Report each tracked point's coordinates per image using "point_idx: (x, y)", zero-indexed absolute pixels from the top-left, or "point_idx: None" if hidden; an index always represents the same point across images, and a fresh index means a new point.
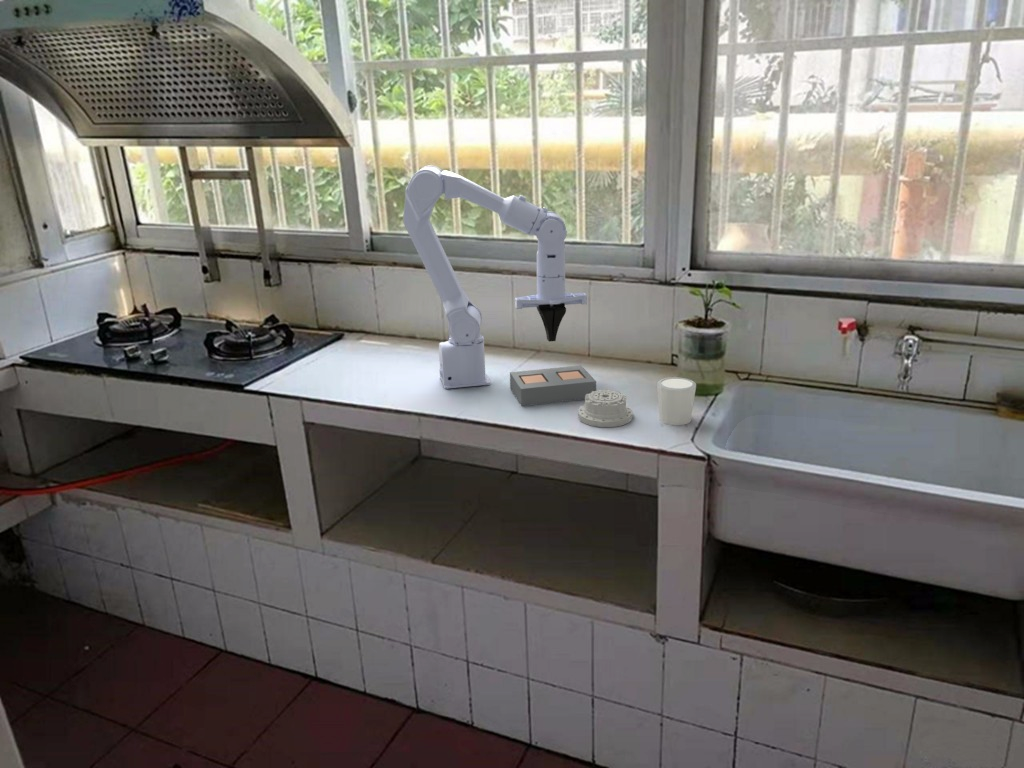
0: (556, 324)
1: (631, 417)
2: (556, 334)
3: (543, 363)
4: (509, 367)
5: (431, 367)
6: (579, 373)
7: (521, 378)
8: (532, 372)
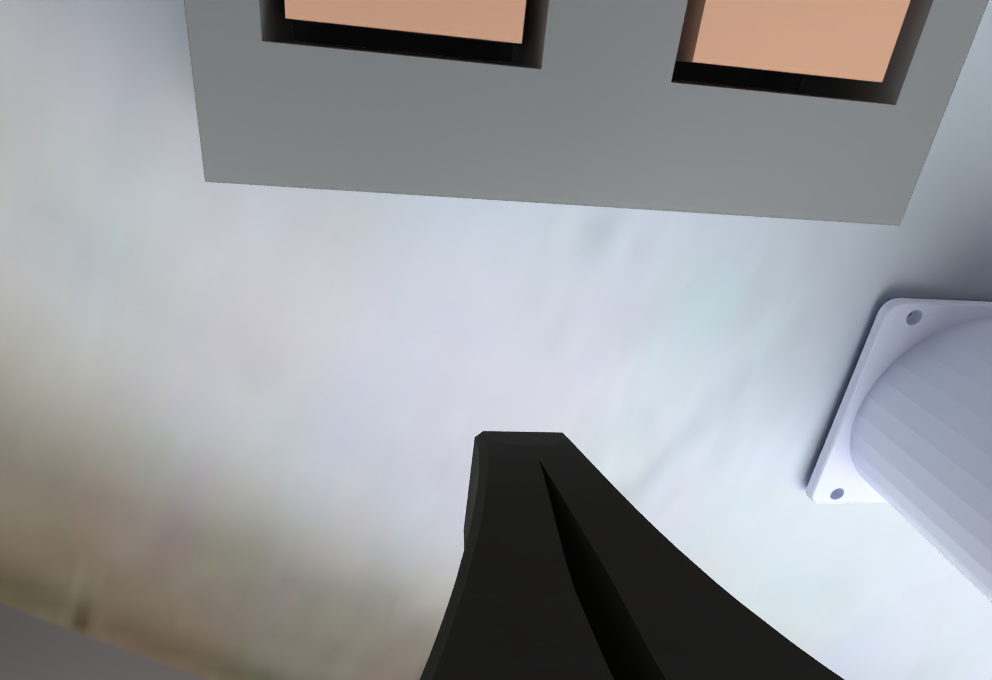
0: (530, 613)
1: None
2: (482, 481)
3: (417, 557)
4: None
5: (957, 612)
6: None
7: (885, 52)
8: (742, 148)
